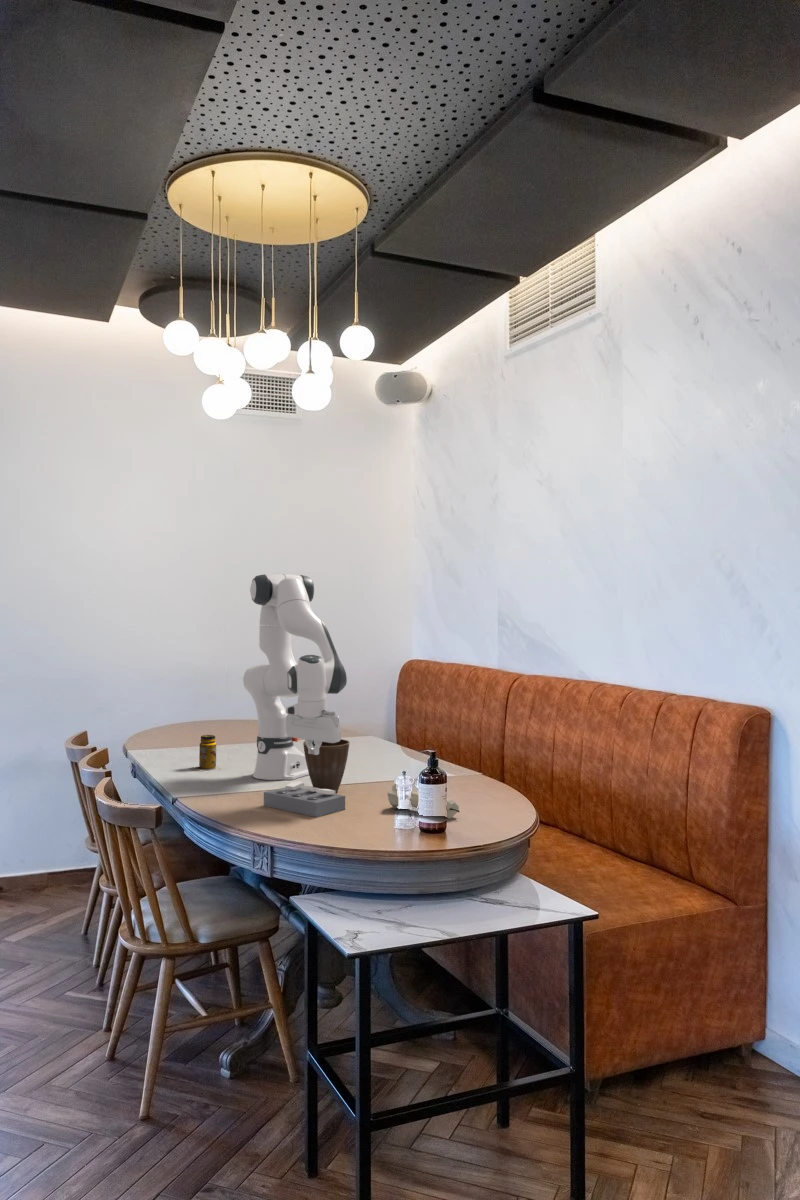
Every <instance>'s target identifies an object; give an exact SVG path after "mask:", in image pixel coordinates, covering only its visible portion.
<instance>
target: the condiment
mask: <svg viewBox="0 0 800 1200" xmlns="http://www.w3.org/2000/svg"><path fill="white" fill-rule="evenodd" d="M198 758H199V765H198V766H196V767H195V766H194V767H193V766H192V767H190V769H192V770H194V771H199V772H202V771H204V772H205V771H211V770H217V769H218V770H219V769H220V767H217V742H216V736H215V735H213V734H204V735H201V736H200V743H199V756H198Z"/></svg>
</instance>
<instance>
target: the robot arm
mask: <svg viewBox="0 0 800 1200" xmlns="http://www.w3.org/2000/svg"><path fill="white" fill-rule="evenodd" d="M249 592H250V597H251V600H252V602H254V603H255V604H256V605H259V606H261V608H260V614H259V633H258V635H259V637H258V639H259V643H258V645H259V648H260V649H259V650H260V651H261V652H262V653H264V654H265V656H266V658H267V660H268V664H261V663H260V664H257V665H252V666H249V667H248V668H246V670H245V672H244V675H243V677H242V682H243V687H244V689H245V690H246V691H247V692H248V694H249V695H250V696H251V697H252V700H253V702H254V705H255V708H256V713H257V729H258V730H257V734H258V735H257V736H256V748H257V751H256V752H257V753H256V759H255V760H256V762H255V765H254V771H253V776H252V777H253V778H255V779H258V780H267V781H268V780H269V781H272V780H273V781H274V780H275V781H276V780H280V781H282V780H286V781H287V780H288V781H289V780H290V781H291V780H295V779H298V778H302V777H305V776H309V772H308V768H307V764H306V759H305V753H303V752H302V751H301V750H300V749H298V748H297V747H296V746H295V745H294V742H295V743H296V742H297V743H298V742H299V739H301V740H304V742H305V743H306V745H307V747H308V753H309V754H313V755H318V754H319V748H320V746H321V744H322V742H328V743H336V742H339V741H340V740H341V739H342V730H341V724H340V717H339V715H338V714H337V713H336V712H335V711H329V710H328V697H327V695H328V694H330V695H331V694H332V695H335V694H336V695H337V694H339V693H341V692H342V690H343V689H344V688H345V687H346V686H347V679H348V678H347V672H346V669H345V666H344V665H343V663H342V661H341V660H340V657H339V655H338V652H337V650H336V648H335V645H334V642H333V640H332V637H331V635H330V632H329V630H328V627H327V626H326V624H325V622H324V620H322V619H320V618H319V617H318V616H317V615H316V614H315V613H314V612H313V609H312V608H311V602H312V601H313V600H314V595H315V584H314V581H313V580H312V578H311V577H309V576H306V575H302V574H300V575H299V574H298V575H297V574H291V573H290V574H288V573H282V574H280V573H279V574H277V573H276V574H265V573H264V574H259V575H255V576H254V577H253V579H252V580H251V583H250V587H249ZM292 635H293V636H296V637H301V638H304V639H307V640H310V641H312V642H313V643H315V644H316V645H317V646H318V649H319V651H320V654H321V656H320V655H315V654H306V655H302V656H300V657H299V658H298V661H296V659H295V657H294V654H293V647H292ZM326 694H327V695H326ZM293 697H297V703H295V704H293V705H289V706H286V707H285V706H284V704H283V703H282V701H281V698H287V699H288V698H293ZM313 740H314V744H315V747H313V744H312V742H313Z"/></svg>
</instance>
